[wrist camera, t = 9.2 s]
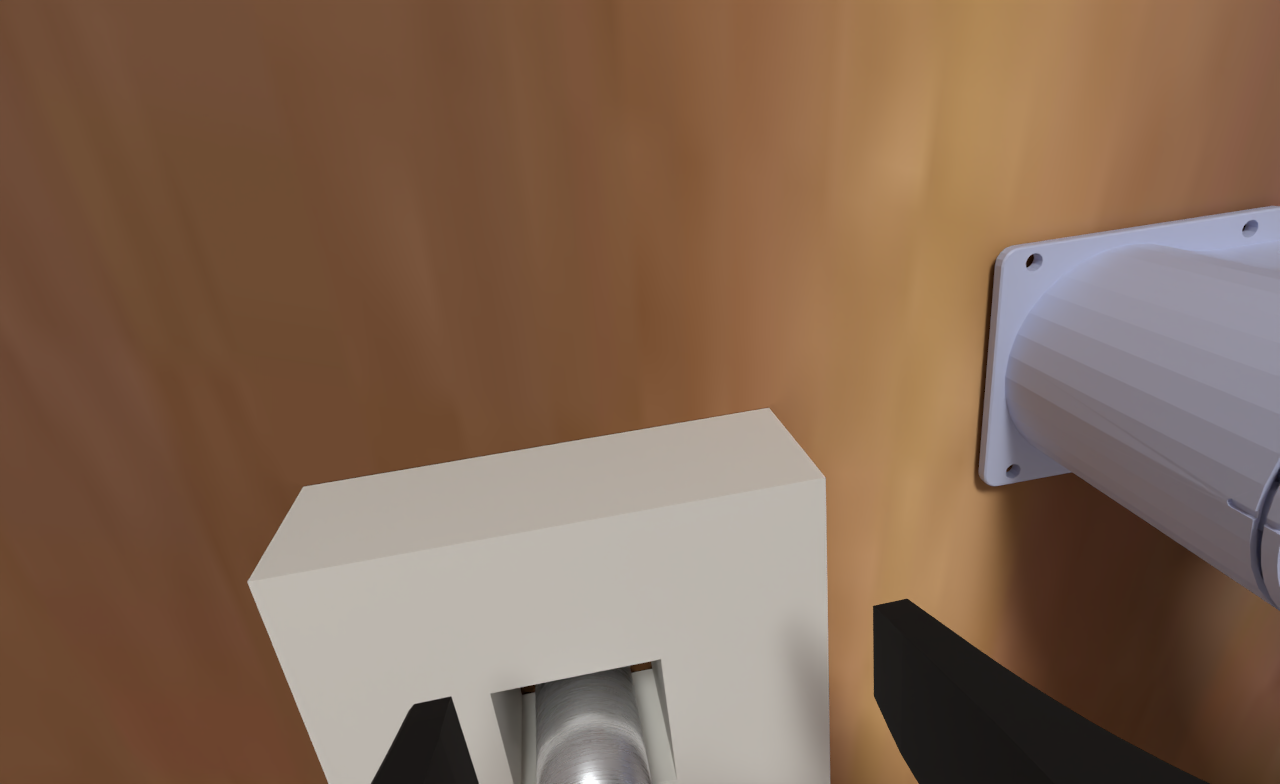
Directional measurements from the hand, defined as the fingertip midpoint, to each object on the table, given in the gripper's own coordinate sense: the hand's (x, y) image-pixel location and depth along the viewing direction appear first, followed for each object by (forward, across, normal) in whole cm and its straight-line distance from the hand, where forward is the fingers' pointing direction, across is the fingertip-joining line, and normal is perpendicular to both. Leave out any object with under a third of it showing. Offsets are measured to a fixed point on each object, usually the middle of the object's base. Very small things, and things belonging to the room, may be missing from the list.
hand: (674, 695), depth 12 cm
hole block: (+10, +2, +7) cm, 13 cm away
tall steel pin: (+10, +2, +7) cm, 13 cm away
